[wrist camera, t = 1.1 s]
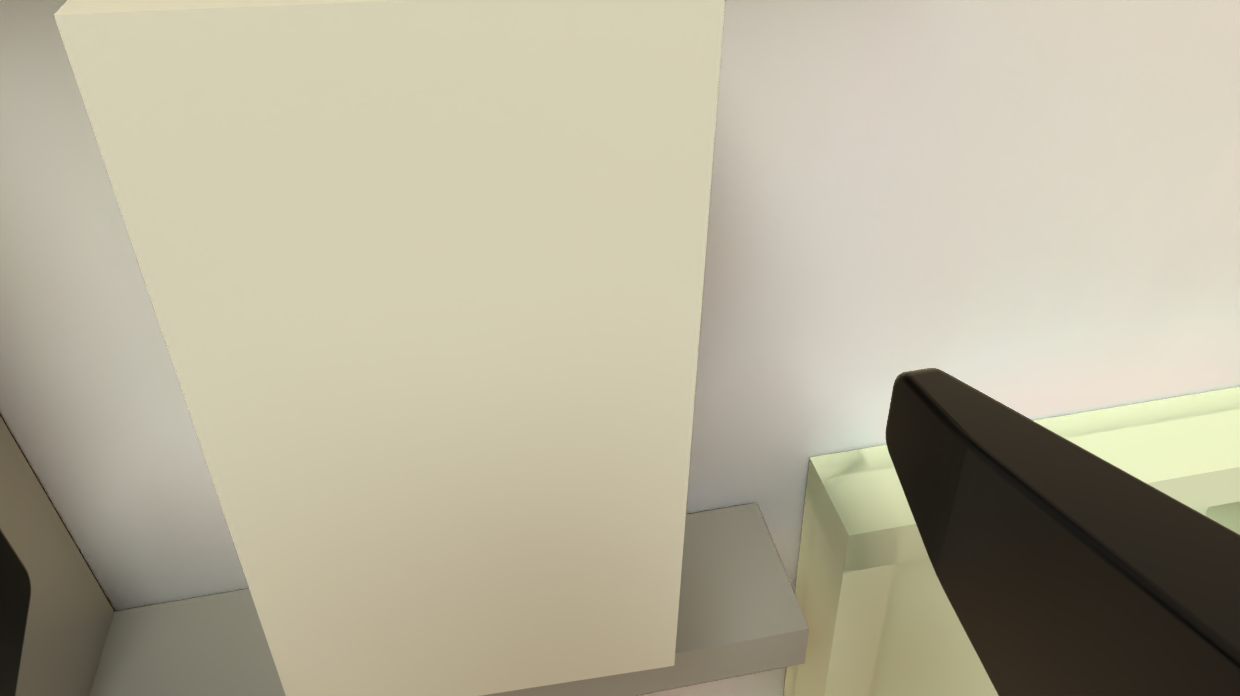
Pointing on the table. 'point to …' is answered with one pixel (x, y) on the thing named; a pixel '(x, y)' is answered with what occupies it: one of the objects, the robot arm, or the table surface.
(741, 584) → the bay
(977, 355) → the table surface
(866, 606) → the tray
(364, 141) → the beige gray rectangular block
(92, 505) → the table surface
